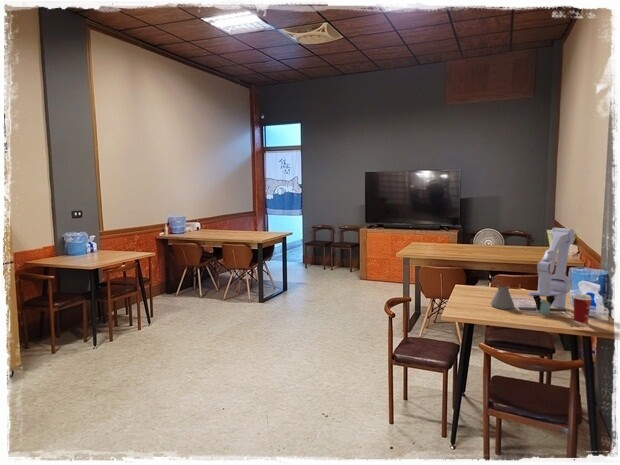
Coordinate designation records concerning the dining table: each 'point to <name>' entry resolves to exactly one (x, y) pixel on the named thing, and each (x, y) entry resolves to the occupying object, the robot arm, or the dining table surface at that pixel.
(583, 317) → the paper cup
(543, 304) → the teal and beige block
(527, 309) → the board
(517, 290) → the dining table surface
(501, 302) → the coffee pot
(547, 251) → the robot arm
